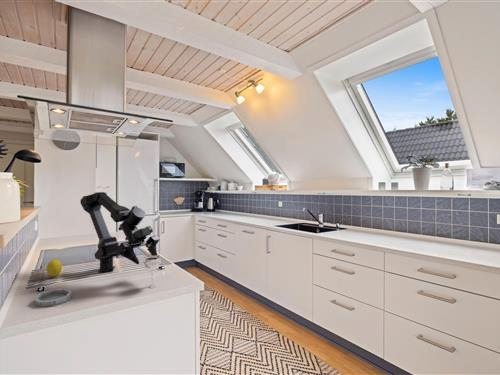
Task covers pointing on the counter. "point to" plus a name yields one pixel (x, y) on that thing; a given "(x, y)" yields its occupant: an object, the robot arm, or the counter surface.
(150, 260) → the wineglass
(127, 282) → the counter surface
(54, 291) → the holder
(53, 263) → the lemon
